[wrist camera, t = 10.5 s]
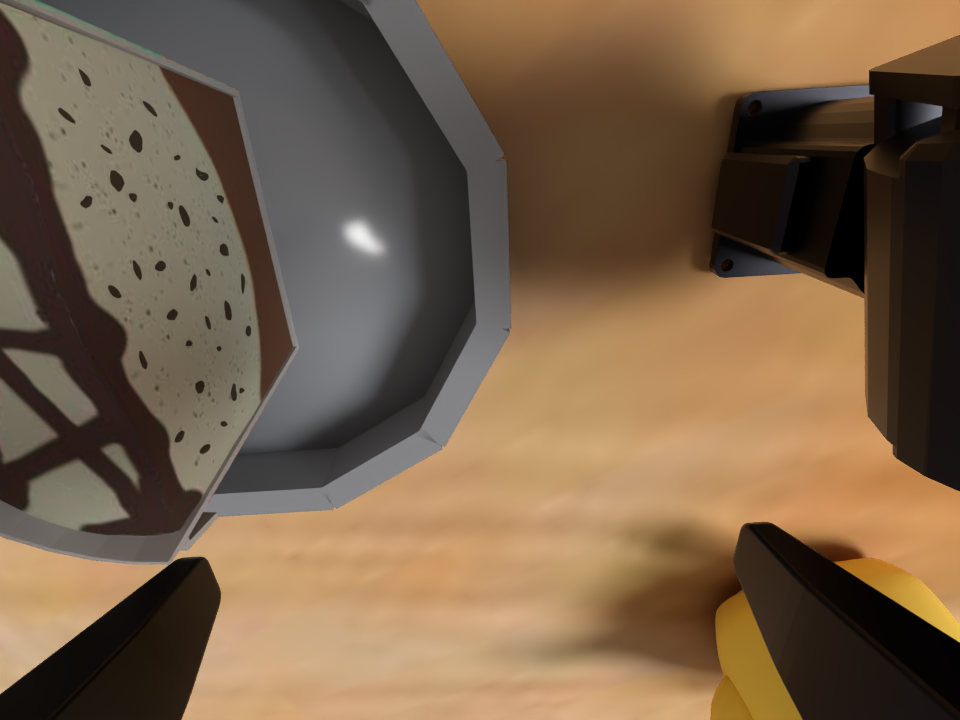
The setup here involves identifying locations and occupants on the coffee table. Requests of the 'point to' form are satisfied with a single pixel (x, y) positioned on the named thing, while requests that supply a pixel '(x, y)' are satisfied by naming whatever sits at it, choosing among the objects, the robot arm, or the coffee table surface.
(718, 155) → the coffee table surface
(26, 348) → the food container
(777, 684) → the teapot
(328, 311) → the bowl
